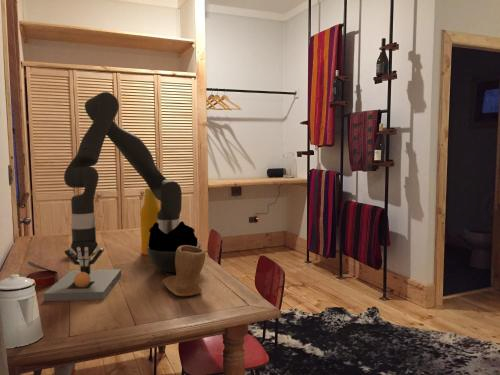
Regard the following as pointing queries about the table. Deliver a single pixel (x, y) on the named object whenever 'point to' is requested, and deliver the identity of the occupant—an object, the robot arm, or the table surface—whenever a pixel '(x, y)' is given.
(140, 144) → the robot arm
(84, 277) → the ball
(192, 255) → the tan suede boot
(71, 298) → the grey flat block
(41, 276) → the canned food
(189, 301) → the table surface
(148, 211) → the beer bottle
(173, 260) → the bowl of black rocks
